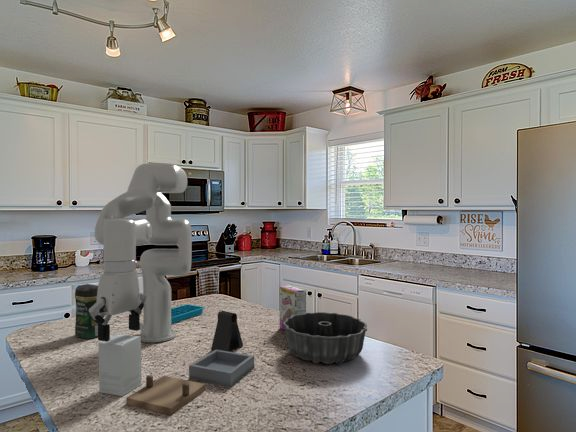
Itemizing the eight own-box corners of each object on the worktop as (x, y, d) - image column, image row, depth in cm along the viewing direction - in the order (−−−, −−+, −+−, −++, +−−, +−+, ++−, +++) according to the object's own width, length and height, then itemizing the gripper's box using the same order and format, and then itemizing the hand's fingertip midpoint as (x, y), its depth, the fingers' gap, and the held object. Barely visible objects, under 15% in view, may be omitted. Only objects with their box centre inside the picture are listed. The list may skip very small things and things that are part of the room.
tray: (189, 378, 104) (189, 365, 104) (215, 361, 116) (215, 349, 116) (230, 386, 99) (230, 373, 99) (254, 367, 111) (254, 355, 111)
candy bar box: (278, 328, 148) (278, 286, 148) (289, 326, 151) (289, 284, 151) (295, 336, 139) (295, 291, 138) (306, 334, 142) (306, 289, 141)
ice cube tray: (206, 313, 171) (206, 307, 171) (171, 325, 153) (171, 318, 153) (187, 310, 176) (187, 304, 176) (151, 321, 159) (151, 314, 159)
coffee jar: (70, 336, 139) (70, 285, 138) (91, 330, 145) (90, 281, 145) (88, 341, 134) (87, 287, 134) (108, 334, 141) (107, 284, 141)
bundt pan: (383, 354, 122) (383, 322, 122) (332, 379, 103) (332, 342, 103) (319, 335, 141) (319, 307, 141) (266, 354, 122) (266, 322, 122)
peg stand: (126, 403, 90) (126, 386, 90) (164, 381, 102) (164, 366, 102) (171, 415, 85) (171, 397, 85) (205, 390, 97) (205, 374, 97)
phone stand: (224, 354, 121) (224, 316, 121) (210, 350, 125) (210, 313, 125) (243, 346, 129) (243, 310, 128) (230, 342, 132) (230, 308, 132)
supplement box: (142, 384, 101) (142, 336, 100) (121, 397, 94) (121, 345, 93) (119, 380, 103) (119, 333, 103) (97, 392, 96) (97, 342, 96)
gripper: (134, 263, 107) (134, 325, 107) (79, 270, 91) (78, 343, 91) (155, 264, 104) (155, 327, 104) (102, 272, 88) (102, 347, 88)
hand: (119, 335), depth 97 cm, fingers open, 9 cm apart
